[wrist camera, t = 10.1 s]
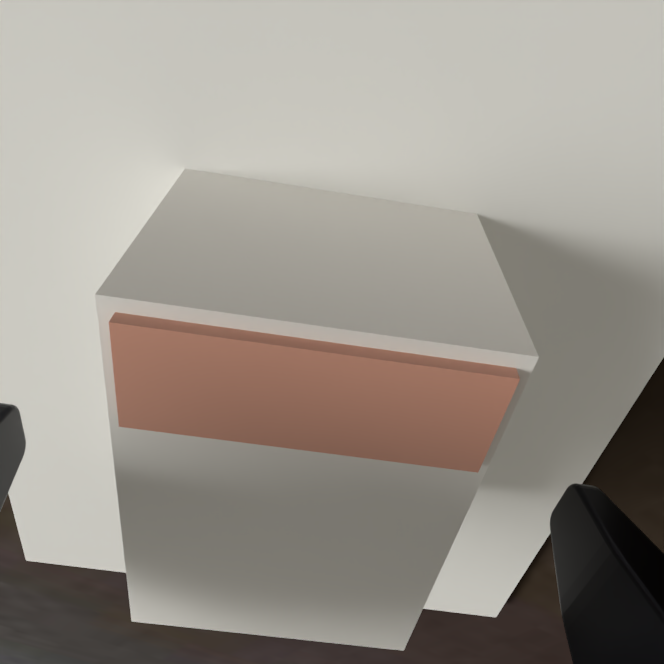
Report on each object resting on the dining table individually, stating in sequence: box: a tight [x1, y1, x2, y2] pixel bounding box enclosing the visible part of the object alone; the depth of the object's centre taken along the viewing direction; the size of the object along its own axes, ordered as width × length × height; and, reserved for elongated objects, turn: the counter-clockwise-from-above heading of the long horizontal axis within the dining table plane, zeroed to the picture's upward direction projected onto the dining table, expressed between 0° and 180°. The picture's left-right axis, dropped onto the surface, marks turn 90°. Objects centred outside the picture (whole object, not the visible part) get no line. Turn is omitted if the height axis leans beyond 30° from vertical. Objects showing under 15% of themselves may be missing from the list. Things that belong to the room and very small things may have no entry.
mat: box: [0, 0, 664, 617], centre depth 12 cm, size 18×14×1 cm
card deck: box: [95, 169, 539, 651], centre depth 10 cm, size 5×7×4 cm
